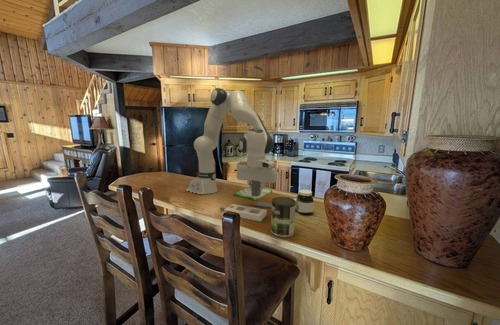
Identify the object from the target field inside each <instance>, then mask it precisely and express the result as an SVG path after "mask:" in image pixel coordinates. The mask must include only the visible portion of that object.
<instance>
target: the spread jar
mask: <svg viewBox="0 0 500 325" xmlns="http://www.w3.org/2000/svg"><path fill="white" fill-rule="evenodd" d="M293 199H294V200H295V201H296V205H295V210H296V211H297V213H298V214H301V215H305V216H309V215H311V214H313V212H314V207H315V206H314V205H315V204H314V202H315V201H314V198H313V191H311V190H309V189H299V190H298V194H297V196H296V198H293Z"/></svg>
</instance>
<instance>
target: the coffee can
mask: <svg viewBox="0 0 500 325" xmlns="http://www.w3.org/2000/svg"><path fill="white" fill-rule="evenodd" d="M271 203H272V208H271V220H270V221H271V222H270V223H271V224H270V225H271V226H270V232H271V234H273V235H274V236H275V237H281V238H289V237H292V236H293V235H294V234H295V222H296V221H295V220H296V201H295V200H294V198H291V197H286V196H278V197H274V198H272V199H271Z"/></svg>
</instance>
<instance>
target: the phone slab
mask: <svg viewBox="0 0 500 325" xmlns="http://www.w3.org/2000/svg"><path fill="white" fill-rule="evenodd" d="M252 207H256V208H264V207H265V209H272V202H271V203H270V202H265V201H257V200H255V202H254V203H253V204H252Z"/></svg>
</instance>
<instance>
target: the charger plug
mask: <svg viewBox="0 0 500 325" xmlns="http://www.w3.org/2000/svg"><path fill="white" fill-rule="evenodd" d="M251 184H252V196H256V197H258V196H260V195H261V191H260V190H259V187H260V186H261V185H262V184H261V182H258V181H254V180H252V182H251Z"/></svg>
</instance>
